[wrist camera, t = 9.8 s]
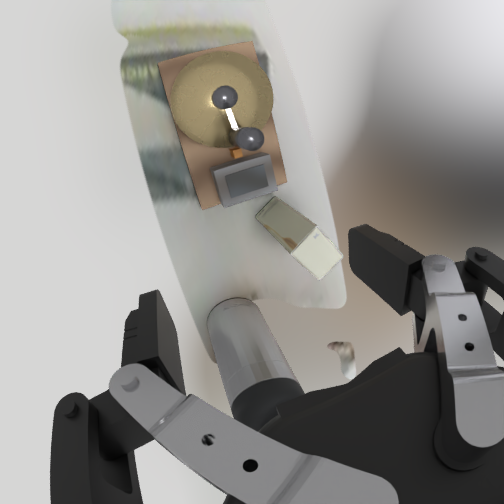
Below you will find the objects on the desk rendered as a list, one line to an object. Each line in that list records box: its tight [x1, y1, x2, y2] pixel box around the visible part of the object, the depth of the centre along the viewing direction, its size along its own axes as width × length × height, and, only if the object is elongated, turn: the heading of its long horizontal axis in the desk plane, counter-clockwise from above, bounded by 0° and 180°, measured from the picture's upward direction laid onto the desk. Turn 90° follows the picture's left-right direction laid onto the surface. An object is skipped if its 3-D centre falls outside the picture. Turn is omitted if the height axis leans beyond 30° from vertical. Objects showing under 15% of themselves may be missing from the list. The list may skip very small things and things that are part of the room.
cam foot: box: [170, 51, 273, 151], centre depth 28 cm, size 12×12×8 cm
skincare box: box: [256, 196, 343, 281], centre depth 37 cm, size 6×4×12 cm
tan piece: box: [158, 41, 287, 210], centre depth 32 cm, size 20×12×5 cm, turn 14°
